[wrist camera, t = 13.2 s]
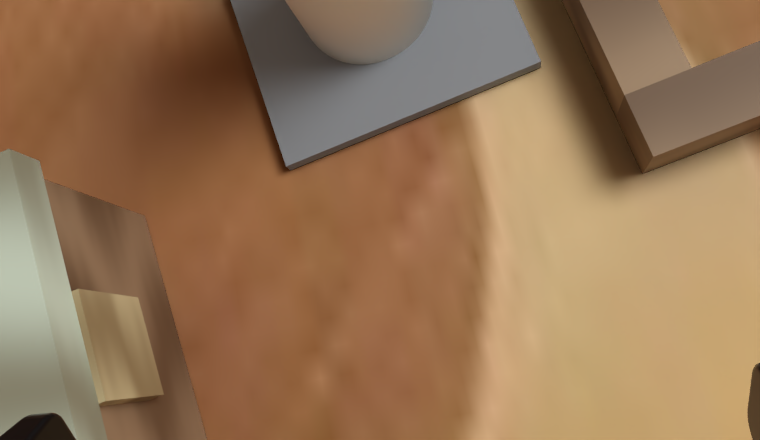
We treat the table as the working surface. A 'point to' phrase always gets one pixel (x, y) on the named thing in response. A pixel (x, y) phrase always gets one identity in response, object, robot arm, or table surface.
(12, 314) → the toolbox
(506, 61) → the mat
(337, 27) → the key peg
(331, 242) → the table surface
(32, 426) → the robot arm
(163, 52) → the table surface
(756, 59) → the brown square frame
